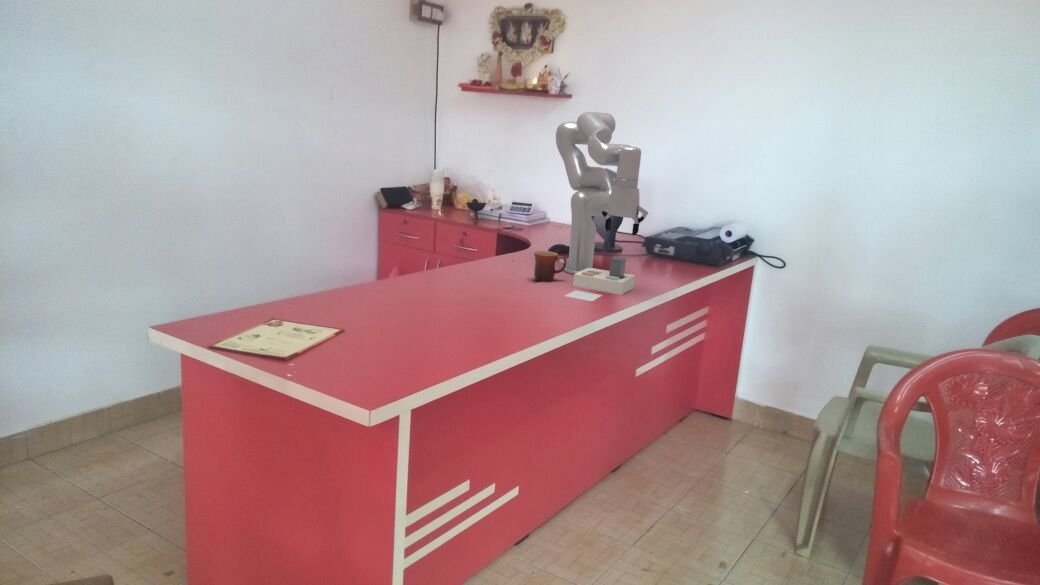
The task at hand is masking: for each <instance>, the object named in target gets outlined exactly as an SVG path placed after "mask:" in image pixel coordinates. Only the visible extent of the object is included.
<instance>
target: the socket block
mask: <svg viewBox="0 0 1040 585" xmlns="http://www.w3.org/2000/svg"><path fill="white" fill-rule="evenodd" d="M609 274H610V270H606V269H599V268H593V267H592V268H587V269H584V270H582V271H580V272H578V273H575V274H573V283H572V284H573V287H575V288H582V289H587V290H590V291H591V290H592V291H597V292H604V293H607V294H614V295H620V296H623V295H624V294H625V293H627V292H629V291H630V290H634V289H635V282H636V274H630V273H625V272H624V278H623V279H619V277H615V276H609Z"/></svg>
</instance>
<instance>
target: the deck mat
mask: <svg viewBox="0 0 1040 585" xmlns="http://www.w3.org/2000/svg"><path fill="white" fill-rule="evenodd" d="M602 296H603V294H598V293H597V294H596V293H592V292H587V291H582V290H577V289H576V290H573V291H571V292H569V293H567V294H565V295H564V297H567V298H572V299H575V300H576V299H577V300H583V301H588V302H593V301H595V300H597V299H599V298H600V297H602Z"/></svg>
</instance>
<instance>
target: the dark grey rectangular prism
mask: <svg viewBox="0 0 1040 585" xmlns="http://www.w3.org/2000/svg"><path fill="white" fill-rule="evenodd" d="M626 261H627V260H626V258H625V257H619V256H613V257H611V258H610V264H609V271H610V274H609V276H615V277H619V279H623V278H624V273H625V269H626Z"/></svg>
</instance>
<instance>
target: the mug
mask: <svg viewBox="0 0 1040 585" xmlns="http://www.w3.org/2000/svg"><path fill="white" fill-rule="evenodd" d="M533 256H534V261H535V262H534V272H533V275H534V276H533V278H534V281H535V282H538V283H540V282H541V283H544V282H545V283H547V282H553V281H554V280H555V276H556V274H559V273H562V272H563V271H564V269H565V267H566V259H567V258H566V257H565V256H564V255H563V256H562V255H559V254H558V253H557V252H555V251H548V250H536V251H534V252H533ZM559 259H563V260H564V264H562V265H563V266H562V267H561V268H560V269H556V261H559Z"/></svg>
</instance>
